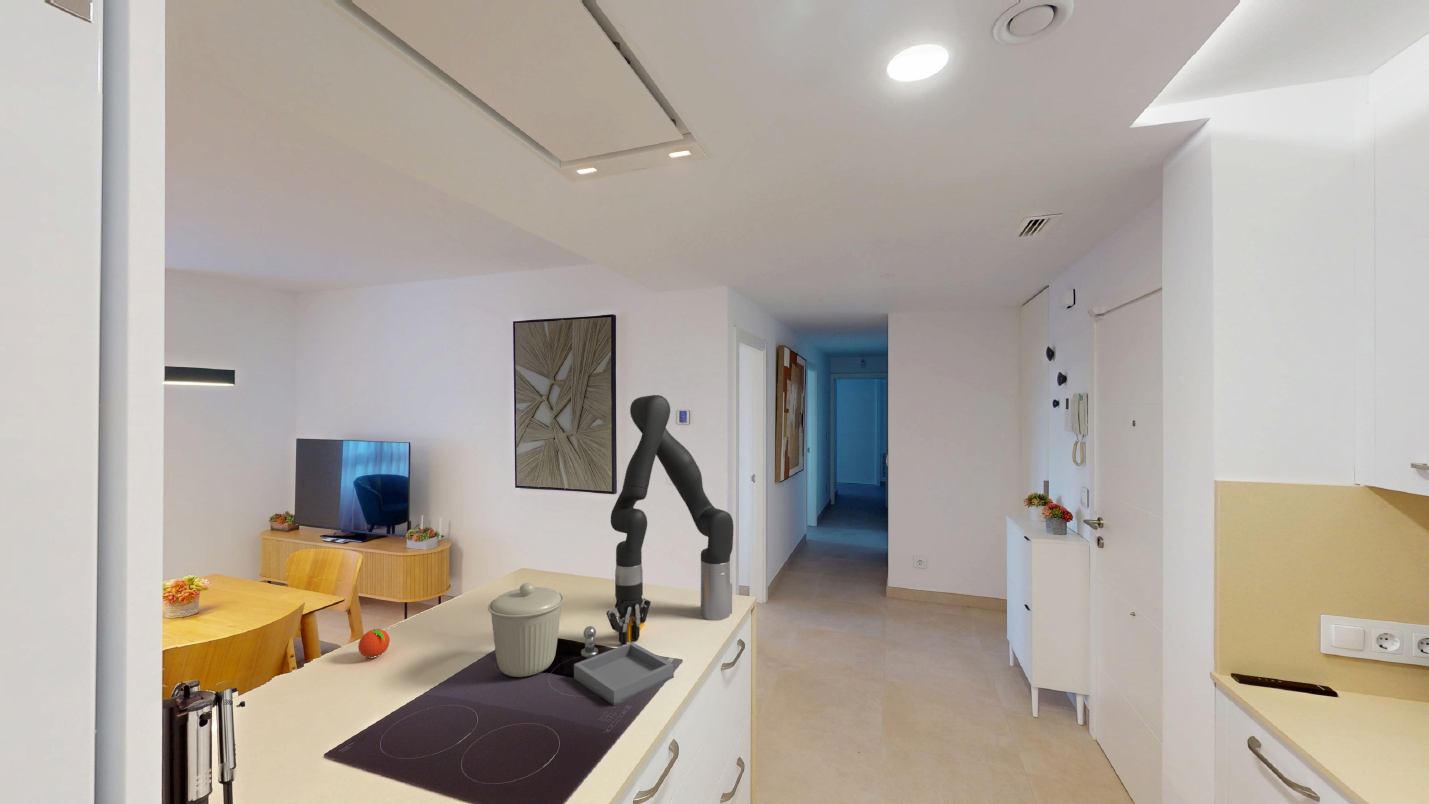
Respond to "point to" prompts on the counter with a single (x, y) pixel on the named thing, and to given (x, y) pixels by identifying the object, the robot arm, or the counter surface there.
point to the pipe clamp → (629, 629)
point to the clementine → (374, 643)
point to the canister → (526, 629)
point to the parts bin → (623, 672)
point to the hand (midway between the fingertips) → (629, 641)
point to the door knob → (589, 643)
